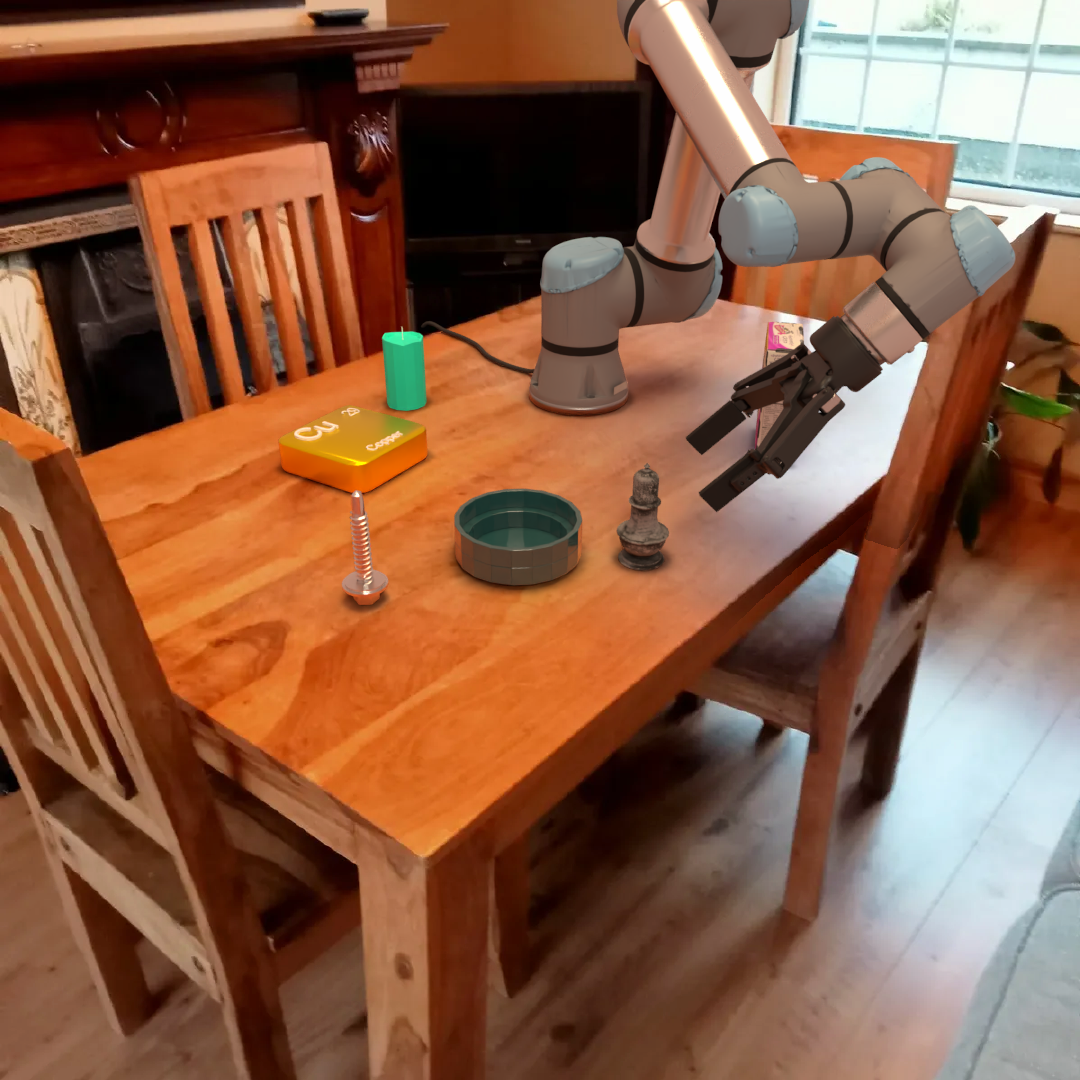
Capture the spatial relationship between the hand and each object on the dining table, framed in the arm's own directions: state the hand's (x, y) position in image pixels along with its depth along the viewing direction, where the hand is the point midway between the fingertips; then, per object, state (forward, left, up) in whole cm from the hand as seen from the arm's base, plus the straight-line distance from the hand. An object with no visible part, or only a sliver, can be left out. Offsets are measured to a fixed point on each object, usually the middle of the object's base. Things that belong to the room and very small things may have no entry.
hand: (699, 473), depth 109 cm
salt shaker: (-5, -3, -11) cm, 12 cm away
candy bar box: (-3, +33, -11) cm, 35 cm away
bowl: (-17, -10, -11) cm, 23 cm away
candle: (-56, +19, -11) cm, 60 cm away
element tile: (-49, -1, -11) cm, 50 cm away
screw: (-26, -26, -11) cm, 38 cm away
